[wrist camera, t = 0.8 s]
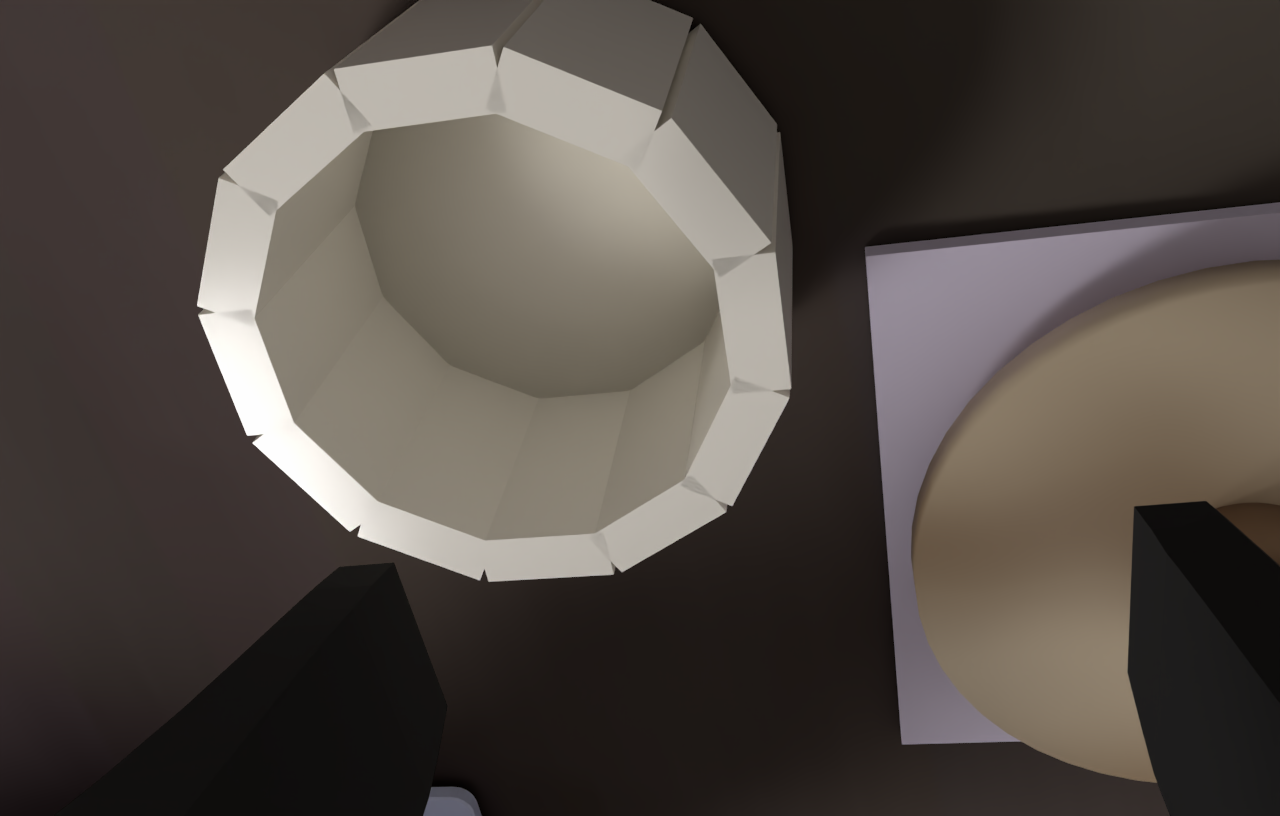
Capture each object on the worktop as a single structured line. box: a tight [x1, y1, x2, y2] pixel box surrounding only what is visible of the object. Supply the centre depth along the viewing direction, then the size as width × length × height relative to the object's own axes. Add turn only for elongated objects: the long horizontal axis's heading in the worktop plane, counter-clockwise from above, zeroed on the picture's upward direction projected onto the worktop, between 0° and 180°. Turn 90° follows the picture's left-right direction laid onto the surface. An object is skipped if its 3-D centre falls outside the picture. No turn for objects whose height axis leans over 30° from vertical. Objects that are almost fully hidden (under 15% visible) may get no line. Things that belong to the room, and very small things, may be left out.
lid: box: [911, 260, 1280, 783], centre depth 19 cm, size 11×11×5 cm
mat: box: [865, 202, 1280, 745], centre depth 21 cm, size 12×12×1 cm
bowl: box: [197, 0, 793, 582], centre depth 18 cm, size 8×8×5 cm
